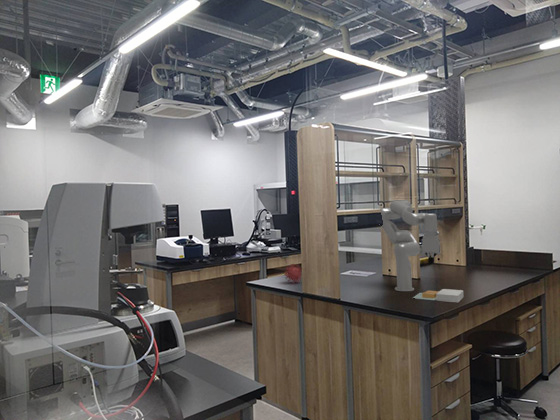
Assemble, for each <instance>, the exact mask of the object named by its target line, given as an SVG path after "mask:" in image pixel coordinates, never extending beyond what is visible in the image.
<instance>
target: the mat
mask: <svg viewBox="0 0 560 420" xmlns="http://www.w3.org/2000/svg"><path fill="white" fill-rule="evenodd" d="M422 293H423V292H419V293H417V294H416V295H414V296H413V297H412V299H413V298H415V299H416V300H424V301H425V300H427V301H437V300H436V298H434V299H433V298H425V297H422ZM415 299H414V300H415Z"/></svg>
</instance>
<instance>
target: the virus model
mask: <svg viewBox="0 0 560 420" xmlns="http://www.w3.org/2000/svg"><path fill="white" fill-rule="evenodd" d="M284 269H285V271H284V276H285V279H286V281H287V282H294V283H295V282H296V283H297V282H298V283H300V282H301V280H302V276H301V275H302V270H301V267H299V265H298V264H297V263H290V264H289V265H287V266H286V268H284Z"/></svg>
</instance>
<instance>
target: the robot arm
mask: <svg viewBox="0 0 560 420" xmlns="http://www.w3.org/2000/svg"><path fill="white" fill-rule="evenodd" d="M411 204H412V203H411V202H410V201H409V200H406V199H404V200H403V199H401V200H393V201H391V202H390V203H389V207H382V208H380V210H381V215H382V220H383V225H382V226H380V227H381V228H382V229H383V231H384V233H385V234H386V236H387V238H388V239H389V241H390V243H392V244H393V245H394V248H393V250H394V251H393V252H394V255H395V265H396V266H395V267H396V268H395V269H396V286H395V287H394V290H395V291H397V292H413V291H415V288H414V287H413V286H412V285H413V282H412V280H413V279H412V262H411V260H410V258H409V257H416V256H418V255H419V254H420V252H421V254H422V255H426V256H427V258H428V263H429V265H434V263H435V257H436V256H438V255H441V242H440V241H441V239H440V236H439V235H440V234H441V233H440V231H438V219H437V218H438V216H437V214H436V213H427V212H420V213H419V212H418V213H413V211H414V210H413V208H412V205H411ZM401 218H402V220H403V222H404V223H406V224H408V225H410V226H423V236H422V241H421V247H420V245H419V243H418V241H417V239H416V238H415V237H414V234H413V233H412V232H411V231H409V230H407V229H398V227H397V225H396V224H395V223H394V222H393V221H391V220H399V219H401Z"/></svg>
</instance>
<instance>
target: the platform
mask: <svg viewBox="0 0 560 420" xmlns="http://www.w3.org/2000/svg"><path fill="white" fill-rule="evenodd" d="M464 296H465V295H464V290H462V289H449V288H442V289H441V290H439V292H438V293H437V294H436V300H435V301H439V302H447V303H460V301H461V300H463V298H464Z"/></svg>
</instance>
